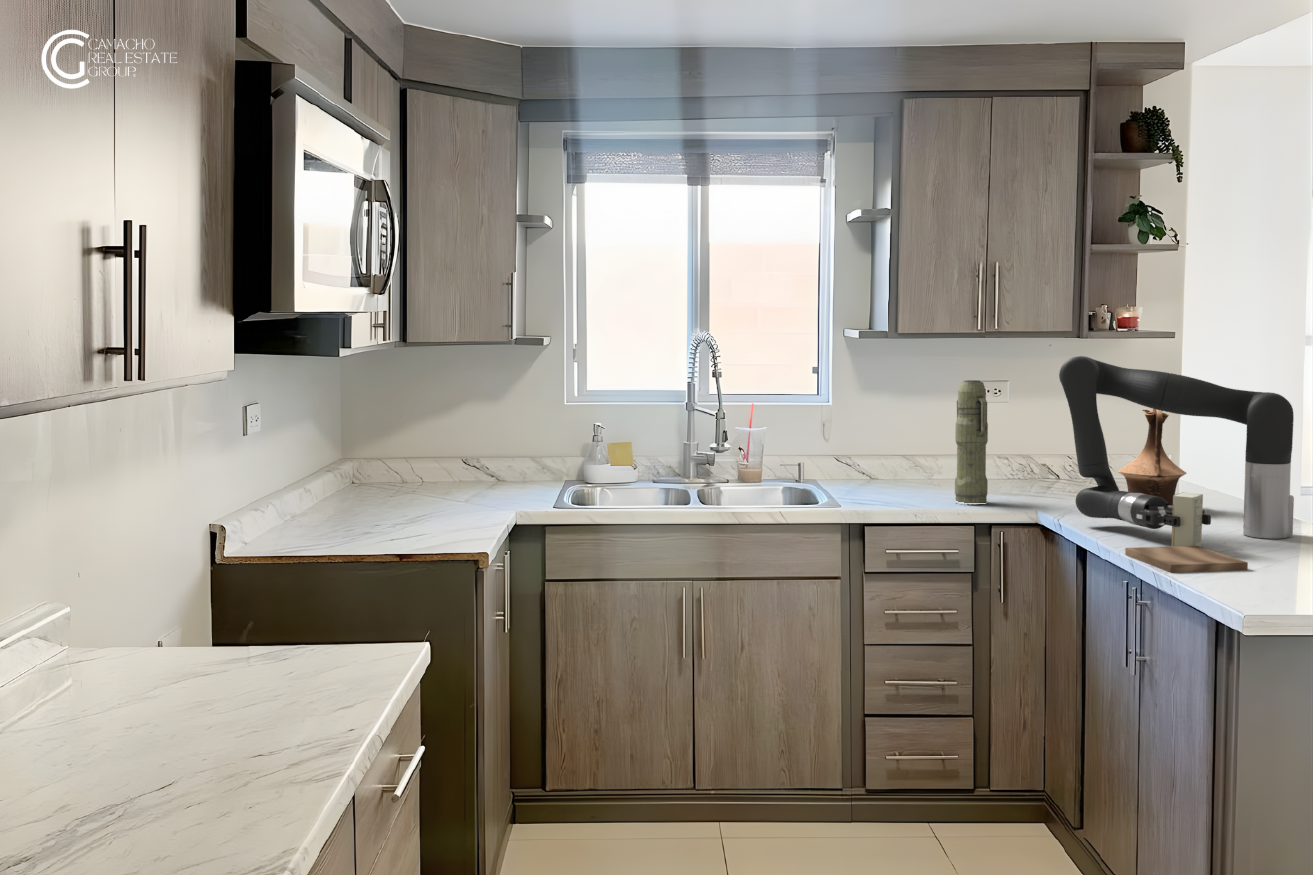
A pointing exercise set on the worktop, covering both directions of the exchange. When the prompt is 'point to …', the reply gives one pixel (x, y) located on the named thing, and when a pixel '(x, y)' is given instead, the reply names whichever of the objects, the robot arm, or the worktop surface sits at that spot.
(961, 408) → the thermos
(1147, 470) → the pitcher
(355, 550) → the worktop surface
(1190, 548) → the walnut board
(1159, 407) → the robot arm
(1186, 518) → the skincare box
